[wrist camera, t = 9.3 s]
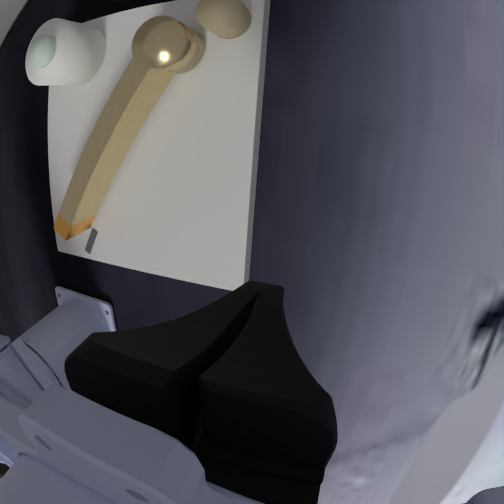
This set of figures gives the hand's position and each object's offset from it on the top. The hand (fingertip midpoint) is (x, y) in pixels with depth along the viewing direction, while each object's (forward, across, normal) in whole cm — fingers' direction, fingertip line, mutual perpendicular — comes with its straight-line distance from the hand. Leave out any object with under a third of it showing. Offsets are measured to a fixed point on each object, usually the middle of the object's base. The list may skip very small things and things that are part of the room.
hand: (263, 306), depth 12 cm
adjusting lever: (+9, +12, -5) cm, 16 cm away
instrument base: (+10, +12, -5) cm, 17 cm away
